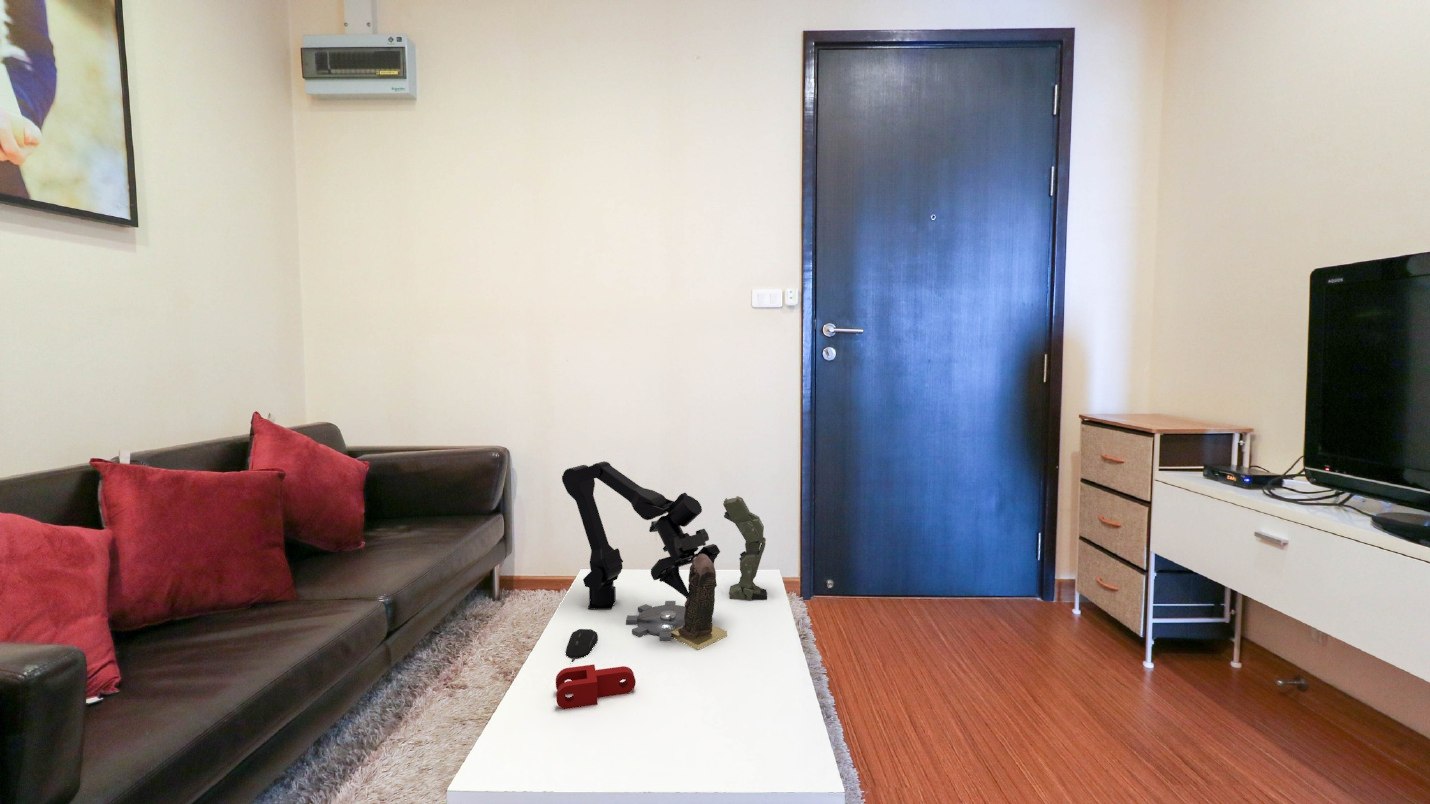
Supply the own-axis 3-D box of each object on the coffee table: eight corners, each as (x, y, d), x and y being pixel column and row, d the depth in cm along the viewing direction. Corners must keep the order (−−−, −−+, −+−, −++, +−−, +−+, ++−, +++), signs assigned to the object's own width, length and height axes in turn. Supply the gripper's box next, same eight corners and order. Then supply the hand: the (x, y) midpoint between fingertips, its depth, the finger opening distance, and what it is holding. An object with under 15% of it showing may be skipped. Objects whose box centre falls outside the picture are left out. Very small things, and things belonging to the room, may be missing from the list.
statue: (696, 624, 160) (696, 547, 158) (717, 633, 155) (717, 554, 153) (677, 633, 155) (676, 554, 153) (698, 643, 150) (697, 561, 148)
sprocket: (609, 622, 164) (609, 614, 164) (671, 598, 179) (671, 591, 179) (679, 658, 145) (679, 649, 145) (742, 628, 161) (742, 620, 160)
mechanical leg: (779, 589, 184) (755, 489, 182) (779, 599, 177) (754, 495, 175) (733, 598, 186) (709, 500, 184) (731, 608, 178) (706, 506, 176)
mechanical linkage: (556, 711, 125) (556, 687, 125) (555, 692, 132) (555, 669, 131) (637, 699, 129) (637, 676, 129) (632, 681, 136) (632, 659, 136)
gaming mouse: (556, 666, 143) (556, 649, 142) (576, 636, 158) (575, 620, 157) (584, 667, 142) (583, 650, 142) (601, 636, 157) (600, 621, 157)
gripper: (657, 527, 150) (687, 585, 143) (715, 513, 163) (745, 566, 156) (638, 551, 157) (666, 608, 150) (695, 536, 169) (723, 587, 162)
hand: (701, 591), depth 154 cm, fingers open, 9 cm apart
